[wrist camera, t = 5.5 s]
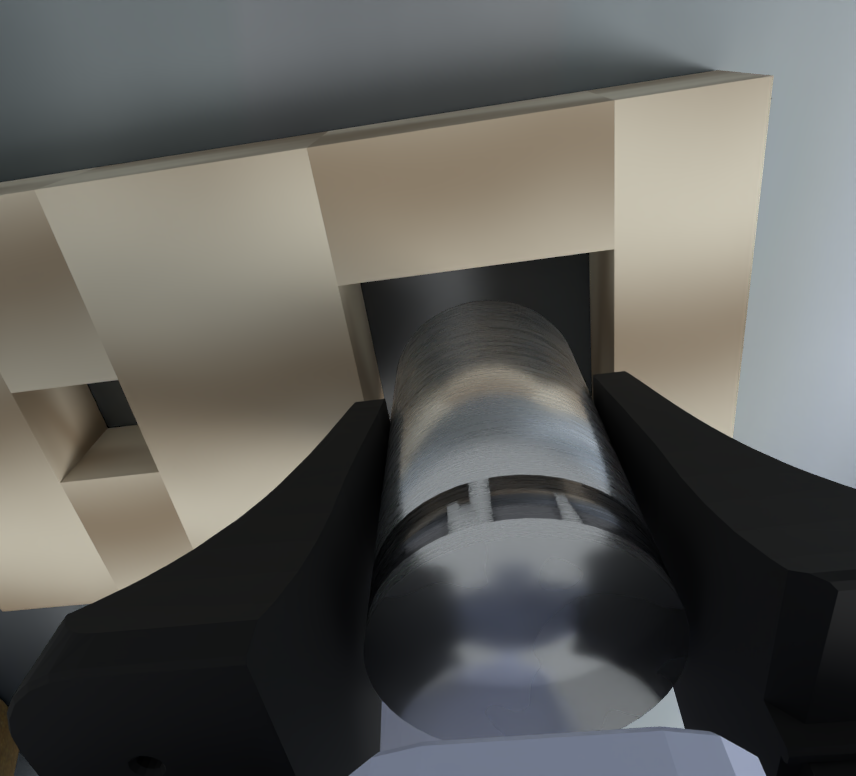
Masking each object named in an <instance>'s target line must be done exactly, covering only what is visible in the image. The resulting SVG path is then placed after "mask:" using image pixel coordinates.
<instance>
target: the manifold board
mask: <svg viewBox="0 0 856 776" xmlns="http://www.w3.org/2000/svg"><path fill="white" fill-rule="evenodd" d="M772 85H773V76H771V75H761V74H751V73H741V72H730V71H720V70H716V71H709V72H703V73H696V74H690V75H684V76H677V77H671V78H665V79H658V80H652V81H645V82H639V83H633V84H626V85H620V86H613V87H607V88H601V89H594V90H588V91H581V92H575V93H569V94H562V95H556V96H549V97H543V98H537V99H530V100H524V101H517V102H511V103H505V104H498V105H492V106H486V107H479V108H473V109H466V110H460V111H454V112H447V113H441V114H434V115H428V116H422V117H415V118H409V119H402V120H396V121H390V122H383V123H377V124H370V125H364V126H358V127H351V128H345V129H339V130H332V131H326V132H319V133H313V134H307V135H300V136H294V137H287V138H281V139H275V140H268V141H262V142H255V143H249V144H243V145H236V146H230V147H223V148H217V149H211V150H204V151H198V152H191V153H185V154H179V155H172V156H166V157H160V158H153V159H147V160H140V161H134V162H128V163H121V164H115V165H108V166H102V167H96V168H89V169H83V170H76V171H70V172H64V173H57V174H51V175H44V176H38V177H32V178H25V179H19V180H12V181H6V182H0V608H1V610H2V611H13V610H25V609H36V608H47V607H58V606H70V605H81V604H92V603H94V602H96V601H98V600H100V599H102V598H104V597H106V596H108V595H111V594H113V593H115V592H117V591H119V590H121V589H123V588H125V587H127V586H129V585H131V584H133V583H135V582H137V581H139V580H141V579H143V578H145V577H147V576H148V575H150V574H152V573H154V572H156V571H157V570H159V569H161V568H163V567H165V566H166V565H168V564H170V563H172V562H173V561H175V560H177V559H178V558H180V557H182V556H183V555H185V554H187V553H188V552H190V551H192V550H193V549H195V548H196V547H198V546H199V545H201V544H202V543H204V542H205V541H207V540H208V539H209V538H211V537H212V536H214V535H215V534H217V533H218V532H220V531H221V530H223V529H224V528H225V527H227V526H228V525H230V524H231V523H233V522H234V521H236V520H237V519H238V518H240V517H241V516H242V515H244V514H245V513H246V512H247V511H248V510H250V509H251V508H252V507H253V506H255V505H256V504H257V503H258V502H260V501H261V500H262V499H263V498H264V497H266V496H267V495H268V494H269V493H270V492H271V491H272V490H274V489H275V488H276V487H277V486H278V485H279V484H280V483H281V482H282V481H283V480H284V479H285V478H286V477H287V476H288V475H289V474H290V473H291V472H292V471H293V470H294V469H295V468H296V467H297V466H298V465H299V464H300V463H301V462H302V461H303V460H304V459H305V458H306V457H307V456H308V455H309V454H310V453H311V452H312V451H313V450H314V449H315V447H316V446H317V445H318V444H319V443H320V442H321V441H322V440H323V439H324V437H325V436H326V435H327V434H328V433H329V432H330V431H331V429H332V428H333V427H334V426H335V425H336V424H337V422H338V421H339V420H340V419H341V418H342V416H343V415H344V414H345V413H346V412H347V411H348V409H349V408H350V407H351V406H352V405H353V404H354V403H355V402H360V401H369V400H378V399H384V395H383V390H382V385H381V380H380V376H379V371H378V366H377V361H376V356H375V352H374V347H373V342H372V337H371V332H370V327H369V323H368V318H367V313H366V308H365V303H364V299H363V294H362V289H361V284H360V283H364V282H371V281H379V280H386V279H394V278H401V277H409V276H416V275H424V274H431V273H439V272H446V271H454V270H461V269H469V268H476V267H484V266H491V265H499V264H506V263H514V262H521V261H529V260H536V259H544V258H551V257H559V256H566V255H574V254H581V253H589V268H590V320H591V373H592V400H593V375H595V374H603V373H612V372H621V371H626V372H628V373H629V374H631V375H632V376H634V377H635V378H637V379H638V380H640V381H641V382H643V383H644V384H646V385H647V386H649V387H650V388H651V389H653V390H654V391H656V392H657V393H659V394H660V395H662V396H663V397H665V398H666V399H668V400H669V401H671V402H672V403H674V404H675V405H677V406H678V407H680V408H681V409H683V410H685V411H686V412H688V413H689V414H691V415H693V416H694V417H696V418H697V419H699V420H701V421H703V422H704V423H706V424H708V425H709V426H711V427H713V428H715V429H716V430H718V431H720V432H722V433H724V434H726V435H727V436H729V437H731V438H733V431H734V422H735V413H736V404H737V395H738V386H739V377H740V369H741V360H742V351H743V342H744V333H745V324H746V315H747V306H748V298H749V289H750V280H751V271H752V262H753V253H754V244H755V236H756V227H757V218H758V209H759V200H760V191H761V182H762V174H763V165H764V156H765V147H766V138H767V129H768V120H769V112H770V103H771V94H772ZM114 380H119V383H120V385H121V387H122V389H123V392H124V394H125V396H126V398H127V401H128V403H129V405H130V408H131V410H132V412H133V414H134V417H135V419H136V421H137V423H138V425H131V426H123V427H114V428H107V426H106V423H105V421H104V419H103V417H102V415H101V413H100V411H99V409H98V407H97V404H96V402H95V400H94V398H93V396H92V394H91V392H90V390H89V387H88V385H87V384H89V383H97V382H105V381H114Z"/></svg>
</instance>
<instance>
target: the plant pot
mask: <svg viewBox="0 0 856 776" xmlns="http://www.w3.org/2000/svg"><path fill="white" fill-rule="evenodd" d="M7 711H8V706H7V705H6V704H5V703H4V702H3V701H2V700H1V699H0V776H14V771H15V767H16V762H17V758H18V753H19V749H18V747H17V745H16V744H15V742H14V740H13V738H12V737H11V734H10V732H9V726H8V719H7Z"/></svg>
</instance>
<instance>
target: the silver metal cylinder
mask: <svg viewBox="0 0 856 776" xmlns="http://www.w3.org/2000/svg"><path fill="white" fill-rule="evenodd" d="M689 646H690V628H689V624H688V620H687V616H686V612H685V610H684V608H683V606H682V603H681V601H680V599H679V596H678V594H677V592H676V590H675V587H674V585H673V583H672V580H671V578H670V576H669V574H668V571H667V569H666V567H665V564H664V562H663V560H662V558H661V555H660V553H659V551H658V548H657V546H656V544H655V542H654V539H653V537H652V535H651V532H650V530H649V528H648V525H647V523H646V521H645V519H644V516H643V514H642V512H641V509H640V507H639V505H638V503H637V500H636V498H635V496H634V493H633V491H632V489H631V487H630V484H629V482H628V480H627V477H626V475H625V473H624V471H623V468H622V466H621V464H620V461H619V459H618V457H617V455H616V452H615V450H614V448H613V445H612V443H611V441H610V439H609V436H608V434H607V432H606V429H605V427H604V425H603V422H602V420H601V418H600V416H599V413H598V411H597V409H596V406H595V404H594V402H593V400H592V397H591V395H590V393H589V390H588V388H587V386H586V384H585V381H584V379H583V377H582V374H581V372H580V370H579V368H578V365H577V363H576V361H575V358H574V356H573V354H572V352H571V349H570V347H569V345H568V343H567V341H566V340H565V338H564V337H563V335H562V334H561V332H560V331H559V330H558V329H557V328H556V327H555V326H554V325H553V324H552V323H551V322H550V321H548V320H547V319H546V318H545V317H543V316H542V315H540V314H538V313H537V312H535V311H533V310H531V309H529V308H526V307H524V306H521V305H518V304H514V303H510V302H504V301H492V300H484V301H474V302H469V303H464V304H460V305H458V306H455V307H452V308H449V309H447V310H445V311H443V312H441V313H439V314H437V315H436V316H434V317H433V318H431V319H430V320H428V321H427V322H426V323H425V324H424V325H423V326H421V327H420V328H419V329H418V330H417V332H416V333H415V334H414V335H413V336H412V337H411V339H410V340H409V342H408V343H407V345H406V346H405V348H404V351H403V353H402V355H401V357H400V360H399V364H398V367H397V374H396V381H395V390H394V398H393V406H392V414H391V423H390V431H389V439H388V448H387V456H386V464H385V472H384V481H383V489H382V497H381V505H380V514H379V522H378V530H377V539H376V547H375V555H374V563H373V572H372V580H371V588H370V597H369V605H368V613H367V621H366V630H365V638H364V646H363V648H364V663H365V667H366V672H367V675H368V677H369V680H370V682H371V684H372V686H373V688H374V690H375V691H376V693H377V694H378V696H379V697H380V699H381V700H382V701H383V702H384V703H385V704H386V705H387V706H388V707H389V709H390V710H391V711H393V712H394V713H395V714H396V715H397V716H399V717H400V718H401V719H402V720H404V721H405V722H407V723H408V724H410V725H412V726H413V727H415V728H416V729H418V730H420V731H422V732H424V733H426V734H428V735H430V736H433V737H435V738H438V739H441V740H457V739H473V738H489V737H504V736H520V735H535V734H551V733H567V732H582V731H598V730H614V729H621V728H623V727H625V726H627V725H629V724H630V723H632V722H634V721H635V720H637V719H639V718H640V717H642V716H643V715H644V714H646V713H647V712H648V711H650V710H651V709H652V708H653V707H655V706H656V705H657V704H658V703H659V702H660V701H661V700H662V699H663V698H664V697H665V696H666V695H667V694H668V692H669V691H670V690H671V688H672V687H673V686H674V685H675V683H676V682H677V680H678V678H679V676H680V674H681V673H682V671H683V669H684V666H685V663H686V660H687V657H688V653H689Z"/></svg>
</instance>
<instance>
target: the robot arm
mask: <svg viewBox="0 0 856 776" xmlns="http://www.w3.org/2000/svg"><path fill="white" fill-rule="evenodd" d="M593 402H594V404H595V406H596V409H597V411H598V413H599V416H600V418H601V420H602V422H603V425H604V427H605V429H606V432H607V434H608V436H609V439H610V441H611V443H612V445H613V448H614V450H615V452H616V455H617V457H618V459H619V461H620V464H621V466H622V468H623V471H624V473H625V475H626V477H627V480H628V482H629V484H630V487H631V489H632V491H633V493H634V496H635V498H636V500H637V503H638V505H639V507H640V509H641V512H642V514H643V516H644V519H645V521H646V523H647V525H648V528H649V530H650V532H651V535H652V537H653V539H654V542H655V544H656V546H657V548H658V551H659V553H660V555H661V558H662V560H663V562H664V564H665V567H666V569H667V571H668V574H669V576H670V578H671V580H672V583H673V585H674V587H675V590H676V592H677V594H678V596H679V599H680V601H681V603H682V606H683V608H684V610H685V612H686V616H687V620H688V624H689V628H690V646H689V653H688V657H687V660H686V663H685V666H684V669H683V671H682V673H681V674H680V676H679V678H678V680H677V682H676V683H675V685H674V686H673V688H674V692H675V695H676V699H677V702H678V706H679V709H680V713H681V716H682V720H683V723H684V727H685V729H681V728H670V727H645V728H629V729H614V730H598V731H582V732H567V733H551V734H535V735H520V736H504V737H489V738H473V739H457V740H441V739H438V738H435V737H433V736H430V735H428V734H426V733H424V732H422V731H420V730H418V729H416V728H415V727H413V726H412V725H410V724H408V723H407V722H405V721H404V720H402V719H401V718H400V717H399V716H397V715H396V714H395V713H394V712H393V711H391V710H390V709H389V707H388V706H387V705H386V704H385V703H384V702H383V701H382V700H381V699H380V697H379V696H378V694H377V693H376V691H375V690H374V688H373V686H372V684H371V682H370V680H369V677H368V675H367V672H366V667H365V663H364V648H363V646H364V638H365V630H366V621H367V613H368V605H369V597H370V588H371V580H372V572H373V563H374V555H375V547H376V539H377V530H378V522H379V514H380V505H381V497H382V489H383V481H384V472H385V464H386V456H387V448H388V439H389V431H390V420H389V415H388V410H387V406H386V401H385V399H378V400H369V401H360V402H355V403H354V404H353V405H352V406H351V407H350V408H349V409H348V411H347V412H346V413H345V414H344V415H343V416H342V418H341V419H340V420H339V421H338V422H337V424H336V425H335V426H334V427H333V428H332V429H331V431H330V432H329V433H328V434H327V435H326V436H325V437H324V439H323V440H322V441H321V442H320V443H319V444H318V445H317V446H316V447H315V449H314V450H313V451H312V452H311V453H310V454H309V455H308V456H307V457H306V458H305V459H304V460H303V461H302V462H301V463H300V464H299V465H298V466H297V467H296V468H295V469H294V470H293V471H292V472H291V473H290V474H289V475H288V476H287V477H286V478H285V479H284V480H283V481H282V482H281V483H280V484H279V485H278V486H277V487H276V488H275V489H274V490H272V491H271V492H270V493H269V494H268V495H267V496H266V497H264V498H263V499H262V500H261V501H260V502H258V503H257V504H256V505H255V506H253V507H252V508H251V509H250V510H248V511H247V512H246V513H245V514H244V515H242V516H241V517H240V518H238V519H237V520H236V521H234V522H233V523H231V524H230V525H228V526H227V527H225V528H224V529H223V530H221V531H220V532H218V533H217V534H215V535H214V536H212V537H211V538H209V539H208V540H207V541H205V542H204V543H202V544H201V545H199V546H198V547H196V548H195V549H193V550H192V551H190V552H188V553H187V554H185V555H183V556H182V557H180V558H178V559H177V560H175V561H173V562H172V563H170V564H168V565H166V566H165V567H163V568H161V569H159V570H157V571H156V572H154V573H152V574H150V575H148V576H147V577H145V578H143V579H141V580H139V581H137V582H135V583H133V584H131V585H129V586H127V587H125V588H123V589H121V590H119V591H117V592H115V593H113V594H111V595H108V596H106V597H104V598H102V599H100V600H98V601H96V602H94V603H92V604H90V605H87V606H85V607H83V608H81V609H79V610H77V611H74V612H72V613H70V614H67V616H66V617H65V618H64V620H63V621H62V623H61V624H60V626H59V627H58V629H57V630H56V632H55V633H54V635H53V636H52V638H51V639H50V641H49V642H48V644H47V645H46V647H45V648H44V650H43V651H42V653H41V655H40V656H39V658H38V659H37V661H36V662H35V664H34V665H33V667H32V668H31V670H30V671H29V673H28V674H27V676H26V677H25V679H24V680H23V682H22V683H21V685H20V686H19V688H18V689H17V691H16V693H15V694H14V696H13V697H12V700H11V703H10V705H9V708H8V711H7V719H8V726H9V732H10V734H11V737H12V738H13V740H14V742H15V744H16V745H17V747H18V749H19V751H20V752H21V754H22V755H23V756H24V757H25V759H26V760H27V761H28V762H29V764H30V765H31V766H32V767H33V769H34V770H35V771H36V772H37V774H38V775H39V776H856V489H854V488H851V487H848V486H845V485H842V484H839V483H836V482H834V481H831V480H828V479H825V478H822V477H820V476H817V475H814V474H811V473H808V472H806V471H803V470H801V469H798V468H796V467H793V466H791V465H788V464H786V463H784V462H781V461H779V460H777V459H775V458H773V457H770V456H768V455H766V454H764V453H761V452H759V451H757V450H755V449H753V448H751V447H749V446H746V445H744V444H742V443H740V442H738V441H737V440H735V439H733V438H731V437H729V436H727V435H726V434H724V433H722V432H720V431H718V430H716V429H715V428H713V427H711V426H709V425H708V424H706V423H704V422H703V421H701V420H699V419H697V418H696V417H694V416H693V415H691V414H689V413H688V412H686V411H685V410H683V409H681V408H680V407H678V406H677V405H675V404H674V403H672V402H671V401H669V400H668V399H666V398H665V397H663V396H662V395H660V394H659V393H657V392H656V391H654V390H653V389H651V388H650V387H649V386H647V385H646V384H644V383H643V382H641V381H640V380H638V379H637V378H635V377H634V376H632V375H631V374H629V373H628V372H626V371H621V372H612V373H603V374H595V375H593Z"/></svg>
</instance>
